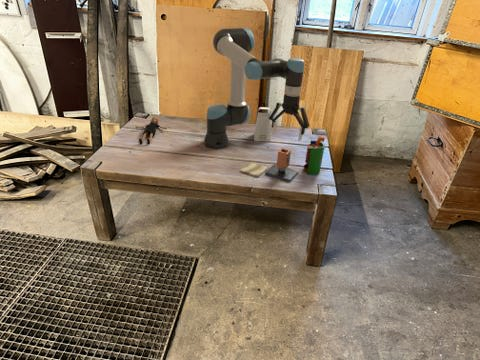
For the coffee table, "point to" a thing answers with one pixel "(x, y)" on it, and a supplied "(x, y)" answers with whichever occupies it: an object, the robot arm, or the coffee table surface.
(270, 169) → the grey peg stand
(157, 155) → the coffee table surface
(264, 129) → the grater
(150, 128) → the woman figure
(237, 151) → the coffee table surface
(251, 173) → the plywood pad
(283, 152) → the square copper sleeve
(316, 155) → the motor
